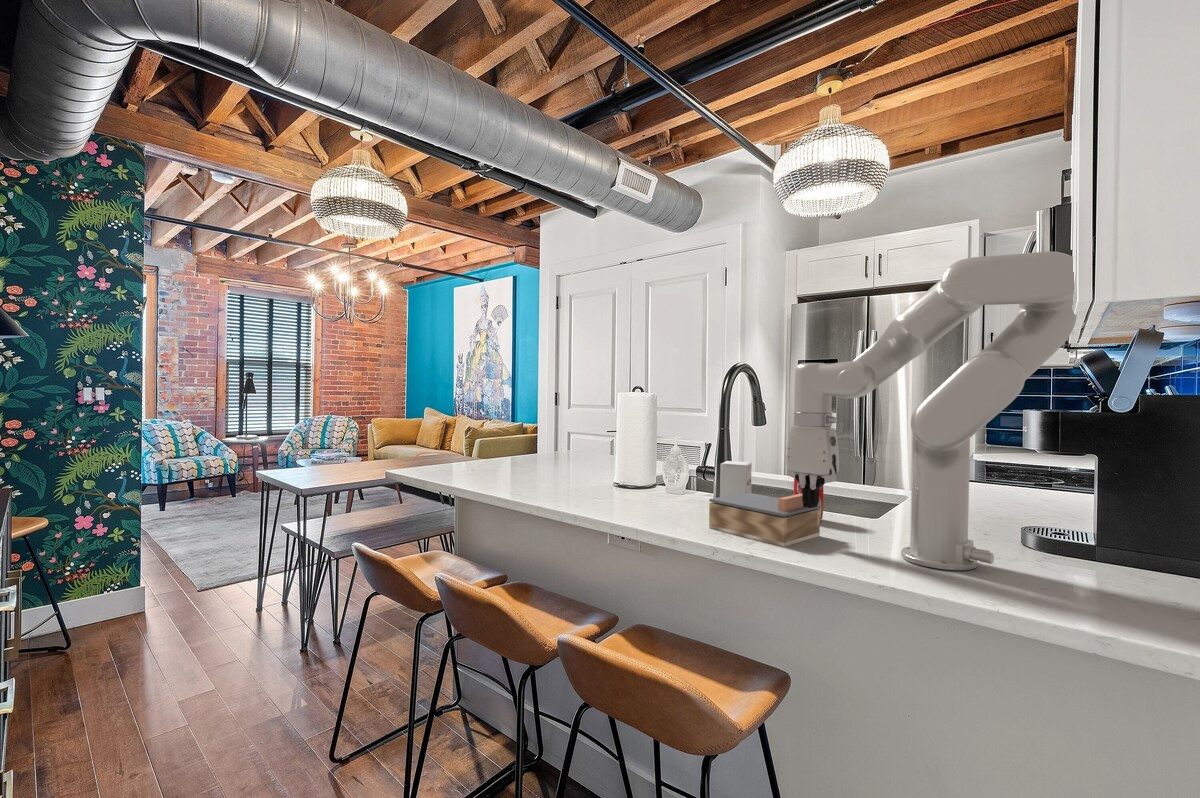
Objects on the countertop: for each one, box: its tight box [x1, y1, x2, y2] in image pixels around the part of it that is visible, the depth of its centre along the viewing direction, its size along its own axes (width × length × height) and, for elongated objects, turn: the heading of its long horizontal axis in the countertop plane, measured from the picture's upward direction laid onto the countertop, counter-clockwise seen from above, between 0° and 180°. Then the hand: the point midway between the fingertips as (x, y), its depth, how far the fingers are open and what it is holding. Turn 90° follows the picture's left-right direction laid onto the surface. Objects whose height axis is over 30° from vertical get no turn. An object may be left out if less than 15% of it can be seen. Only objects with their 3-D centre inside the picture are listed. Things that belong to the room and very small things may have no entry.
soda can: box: [792, 475, 824, 521], centre depth 143 cm, size 7×7×12 cm
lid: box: [708, 492, 820, 517], centre depth 131 cm, size 20×14×3 cm
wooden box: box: [708, 502, 821, 548], centre depth 131 cm, size 20×14×6 cm
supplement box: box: [719, 460, 753, 497], centre depth 156 cm, size 7×7×13 cm
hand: (810, 506), depth 121 cm, fingers closed
